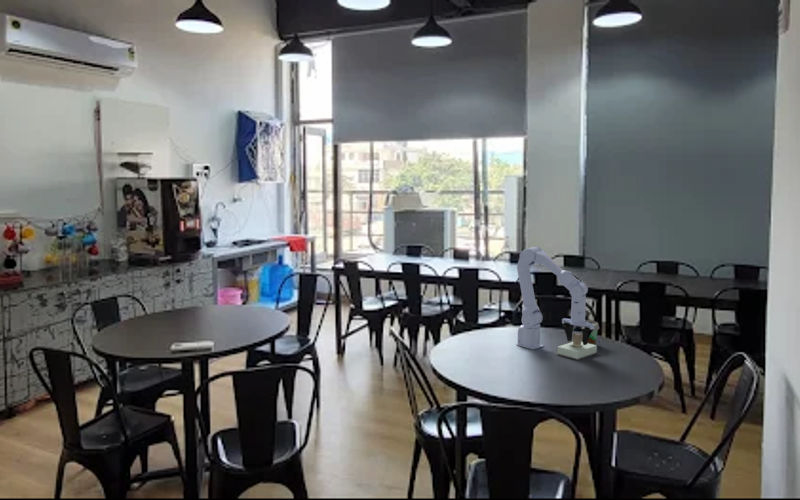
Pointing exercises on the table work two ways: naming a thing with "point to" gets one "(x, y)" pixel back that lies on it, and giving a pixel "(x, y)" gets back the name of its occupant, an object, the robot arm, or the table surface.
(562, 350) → the socket block
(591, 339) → the food container
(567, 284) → the robot arm
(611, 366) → the table surface
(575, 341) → the peg
